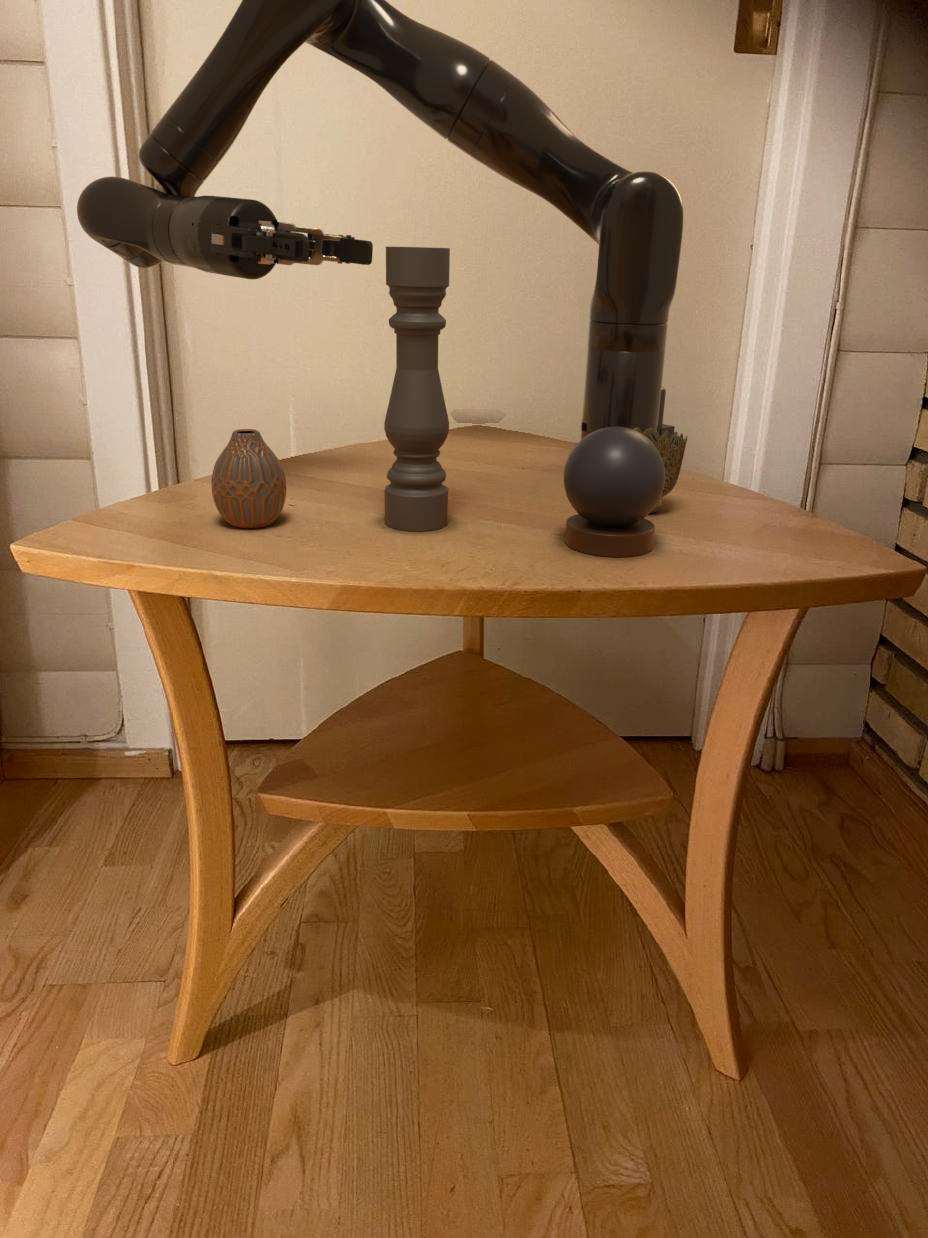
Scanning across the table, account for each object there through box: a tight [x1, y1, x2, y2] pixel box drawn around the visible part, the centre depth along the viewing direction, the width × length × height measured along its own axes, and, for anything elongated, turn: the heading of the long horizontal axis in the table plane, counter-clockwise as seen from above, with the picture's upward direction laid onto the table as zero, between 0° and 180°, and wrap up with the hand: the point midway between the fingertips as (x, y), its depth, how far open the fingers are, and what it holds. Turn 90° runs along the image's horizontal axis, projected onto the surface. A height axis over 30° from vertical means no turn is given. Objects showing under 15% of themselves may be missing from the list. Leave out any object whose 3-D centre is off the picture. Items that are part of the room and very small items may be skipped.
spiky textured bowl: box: [633, 427, 688, 514], centre depth 98 cm, size 8×7×8 cm
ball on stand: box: [563, 427, 665, 558], centre depth 86 cm, size 9×9×11 cm
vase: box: [210, 428, 287, 529], centre depth 90 cm, size 7×7×9 cm
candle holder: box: [383, 246, 451, 532], centre depth 89 cm, size 6×6×25 cm
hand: (339, 251), depth 90 cm, fingers open, 8 cm apart
